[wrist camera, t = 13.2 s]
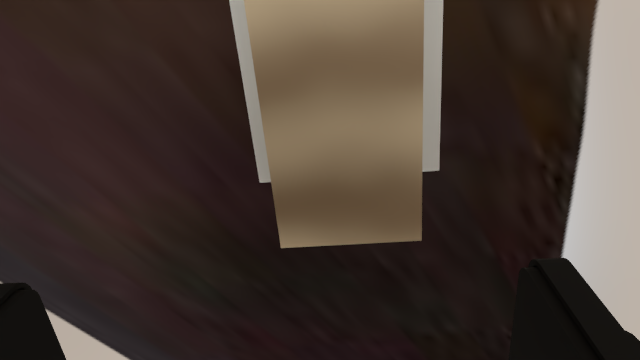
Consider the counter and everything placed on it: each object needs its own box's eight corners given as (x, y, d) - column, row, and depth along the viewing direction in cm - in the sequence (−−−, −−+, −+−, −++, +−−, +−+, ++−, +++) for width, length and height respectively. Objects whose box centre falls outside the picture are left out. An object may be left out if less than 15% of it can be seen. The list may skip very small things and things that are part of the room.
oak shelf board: (234, -176, 18) (213, -203, 15) (410, -197, 18) (426, -229, 15) (287, 213, 26) (281, 248, 23) (411, 205, 26) (421, 240, 23)
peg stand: (436, 164, 31) (457, 208, 26) (261, 176, 32) (246, 221, 26) (443, -184, 23) (476, -227, 17) (207, -155, 24) (169, -188, 18)
